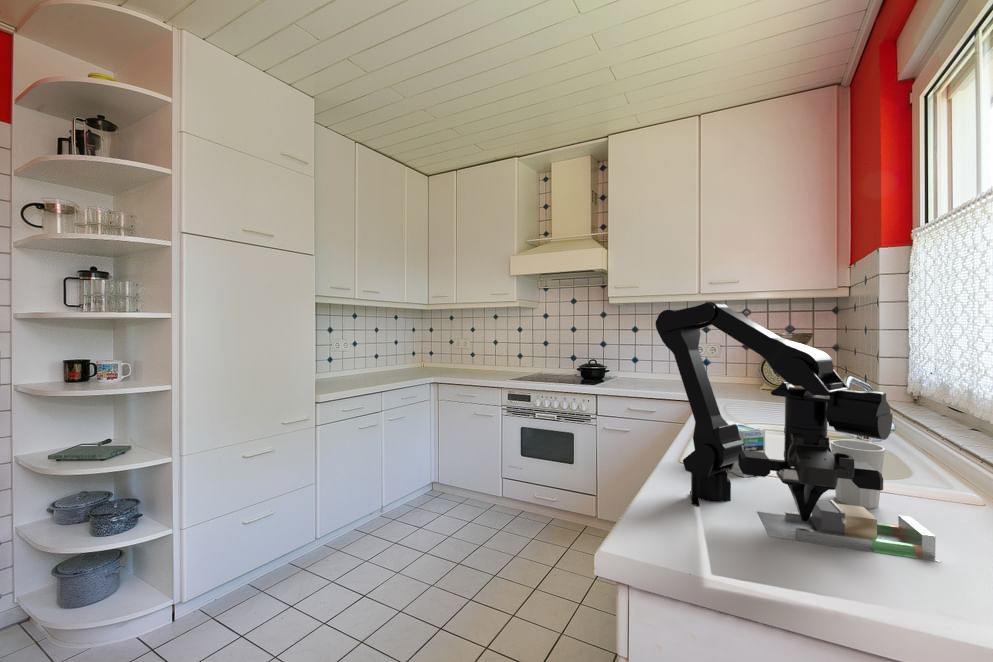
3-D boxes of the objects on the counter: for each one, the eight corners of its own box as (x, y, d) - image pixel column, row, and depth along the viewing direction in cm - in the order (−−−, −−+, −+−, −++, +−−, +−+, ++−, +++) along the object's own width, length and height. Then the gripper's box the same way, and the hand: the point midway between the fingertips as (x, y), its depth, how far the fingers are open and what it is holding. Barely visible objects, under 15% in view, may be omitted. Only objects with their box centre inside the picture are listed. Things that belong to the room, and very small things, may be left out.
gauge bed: (769, 543, 69) (769, 528, 69) (757, 518, 79) (757, 504, 79) (941, 570, 62) (941, 553, 62) (905, 538, 71) (905, 523, 71)
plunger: (823, 538, 68) (823, 511, 68) (811, 522, 73) (811, 497, 73) (846, 541, 67) (847, 514, 67) (833, 525, 72) (833, 500, 72)
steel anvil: (921, 554, 64) (922, 534, 64) (898, 533, 70) (898, 515, 70) (935, 556, 63) (935, 536, 63) (910, 535, 70) (910, 516, 70)
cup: (895, 518, 78) (895, 452, 78) (844, 514, 80) (845, 449, 80) (867, 501, 86) (867, 440, 86) (821, 498, 88) (822, 438, 88)
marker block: (844, 540, 68) (844, 515, 68) (833, 527, 72) (833, 503, 72) (876, 545, 66) (877, 519, 66) (863, 531, 71) (863, 506, 71)
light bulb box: (766, 475, 101) (767, 429, 101) (743, 478, 99) (743, 431, 99) (730, 461, 112) (730, 419, 111) (708, 464, 110) (708, 421, 109)
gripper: (748, 431, 68) (747, 531, 68) (902, 444, 61) (900, 556, 61) (738, 417, 78) (737, 504, 78) (868, 427, 71) (866, 522, 71)
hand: (804, 520), depth 72 cm, fingers closed
